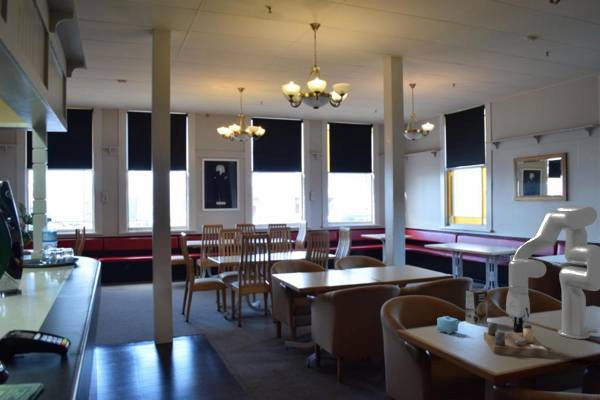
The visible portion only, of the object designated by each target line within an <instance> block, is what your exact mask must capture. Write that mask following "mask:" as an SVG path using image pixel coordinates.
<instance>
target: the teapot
mask: <svg viewBox="0 0 600 400" xmlns="http://www.w3.org/2000/svg"><path fill="white" fill-rule="evenodd" d="M436 321H437V325H436V327H437V331H440V333H441V334H442V333H443V334H444V333H446V334H447V335H451V334H455V333H456V332H458V331H459V323H461V322H462V321H461V320H459V319H458V318H455V317H450V316H449V315H447V316H446V315H444V316H442V317H441V316H440V317H437V319H436Z"/></svg>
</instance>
